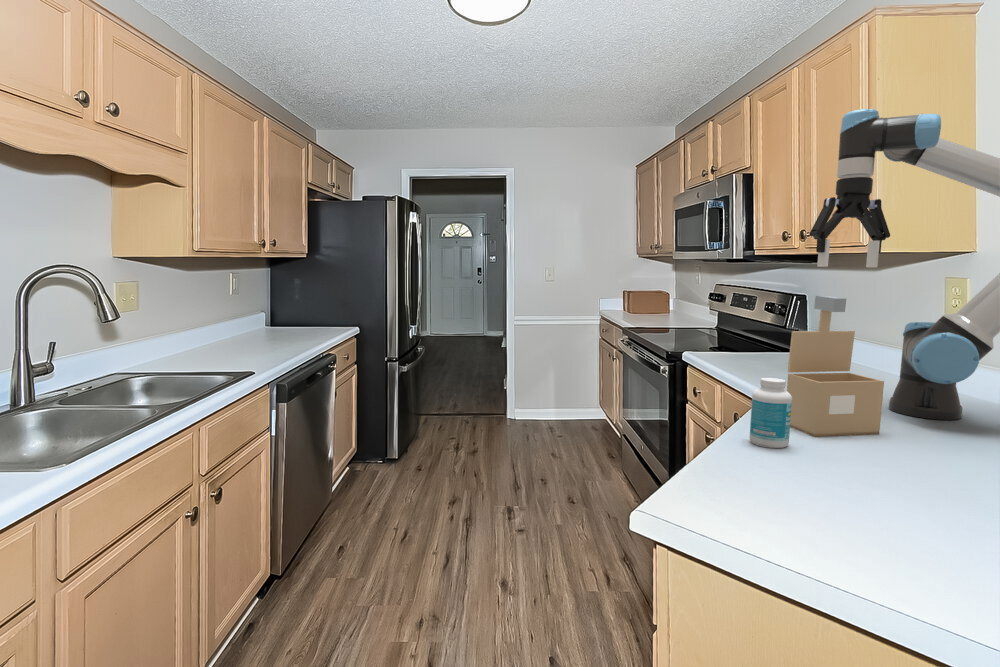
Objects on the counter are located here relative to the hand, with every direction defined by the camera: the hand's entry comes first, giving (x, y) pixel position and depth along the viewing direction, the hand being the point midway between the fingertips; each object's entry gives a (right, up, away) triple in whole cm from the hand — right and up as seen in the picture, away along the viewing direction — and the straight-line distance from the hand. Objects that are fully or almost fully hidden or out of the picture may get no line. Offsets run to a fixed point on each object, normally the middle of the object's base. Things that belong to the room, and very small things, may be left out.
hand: (847, 267), depth 141 cm
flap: (-10, -17, -12) cm, 23 cm away
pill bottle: (-29, -39, -22) cm, 54 cm away
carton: (-10, -38, -10) cm, 41 cm away
